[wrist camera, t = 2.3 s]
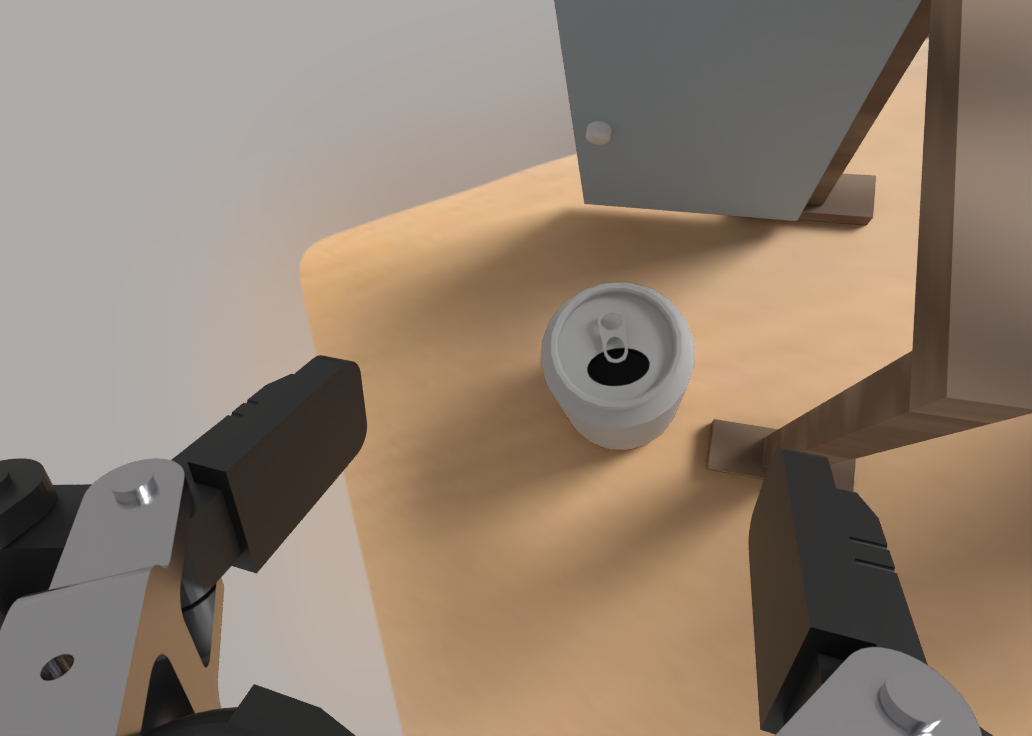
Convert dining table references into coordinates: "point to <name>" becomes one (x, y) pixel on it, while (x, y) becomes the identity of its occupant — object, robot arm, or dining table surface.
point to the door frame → (936, 250)
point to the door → (718, 97)
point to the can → (618, 363)
